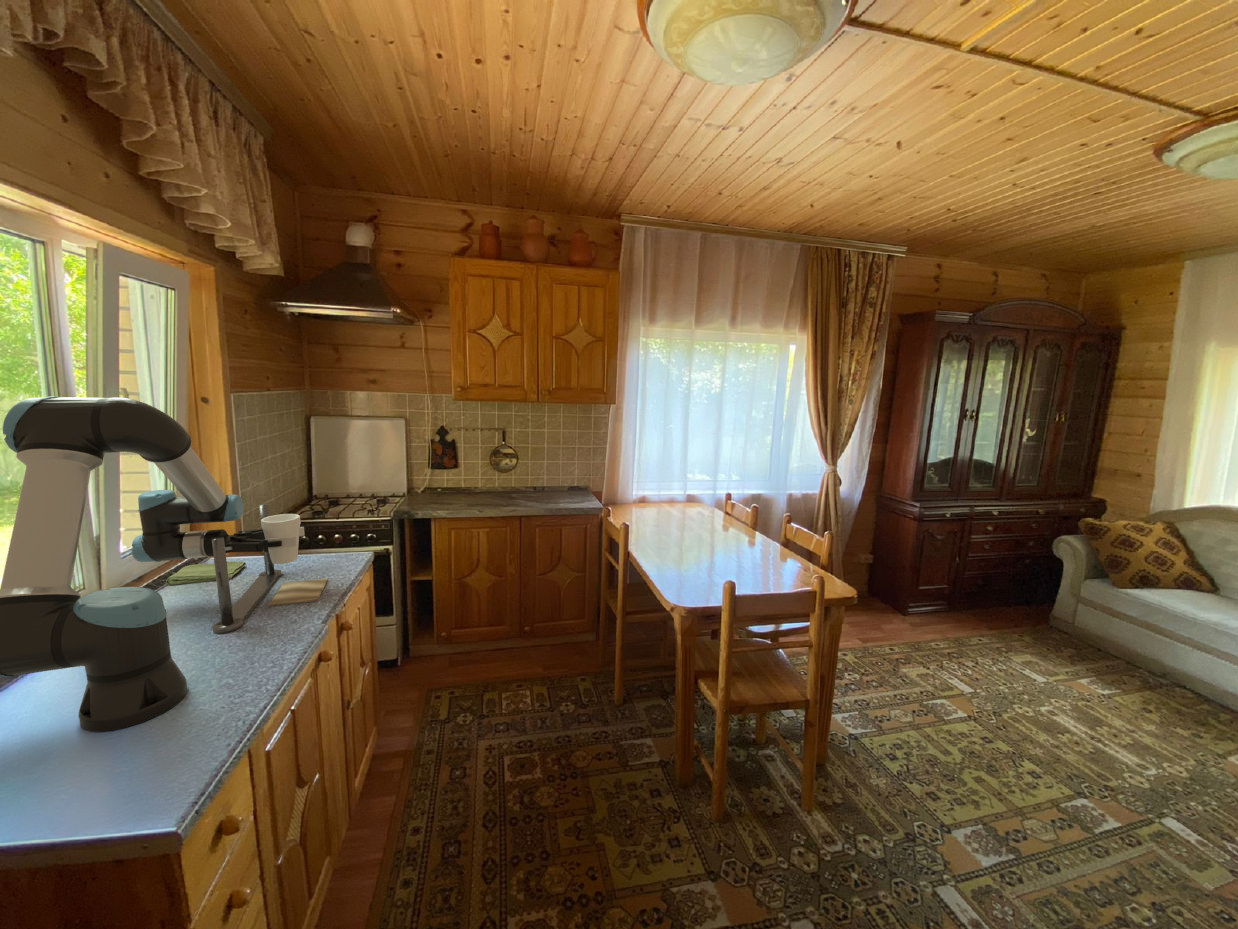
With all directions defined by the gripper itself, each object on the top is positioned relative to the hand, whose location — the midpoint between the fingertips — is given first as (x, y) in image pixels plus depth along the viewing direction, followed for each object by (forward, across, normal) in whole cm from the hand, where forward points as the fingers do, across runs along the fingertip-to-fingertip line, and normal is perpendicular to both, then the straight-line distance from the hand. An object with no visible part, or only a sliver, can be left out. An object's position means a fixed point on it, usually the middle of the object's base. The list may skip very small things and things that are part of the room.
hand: (300, 536), depth 146 cm
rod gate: (-13, +1, -18) cm, 22 cm away
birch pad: (-1, 0, -18) cm, 18 cm away
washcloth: (-32, -25, -18) cm, 44 cm away
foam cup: (-4, 0, -7) cm, 8 cm away
